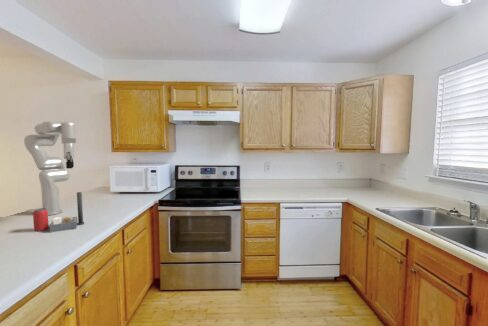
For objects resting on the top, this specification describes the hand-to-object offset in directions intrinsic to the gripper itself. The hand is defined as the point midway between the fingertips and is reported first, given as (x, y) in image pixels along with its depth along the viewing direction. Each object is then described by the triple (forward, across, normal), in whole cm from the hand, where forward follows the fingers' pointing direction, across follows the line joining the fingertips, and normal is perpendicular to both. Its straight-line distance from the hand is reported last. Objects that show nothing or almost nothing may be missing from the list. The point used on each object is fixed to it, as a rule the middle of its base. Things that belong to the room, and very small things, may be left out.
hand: (70, 167), depth 159 cm
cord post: (+34, +15, +5) cm, 38 cm away
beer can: (+34, +15, -14) cm, 40 cm away
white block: (+30, +20, -6) cm, 37 cm away
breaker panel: (+34, +17, -3) cm, 38 cm away
